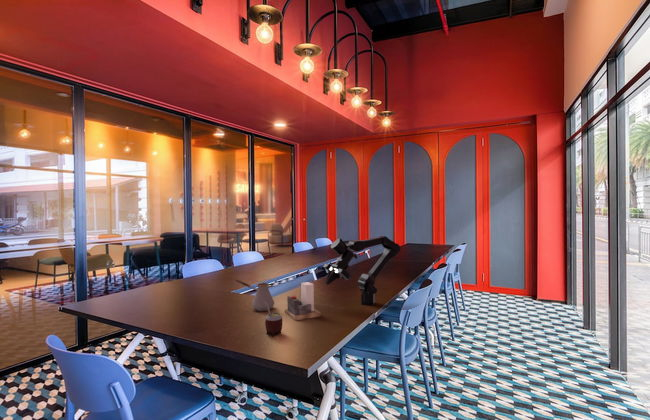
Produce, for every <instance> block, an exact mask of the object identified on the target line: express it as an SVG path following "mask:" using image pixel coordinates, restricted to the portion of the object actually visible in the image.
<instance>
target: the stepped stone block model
mask: <svg viewBox="0 0 650 420" xmlns="http://www.w3.org/2000/svg"><path fill="white" fill-rule="evenodd" d="M286 301H287V309H284V313H285V314H286V315H288V316H289V317H290V318H291V319H292V320H293V321H299V320H306V319H314V318H318V317H322V312H320V311H318V310H317V309H316V308H314V311H311V304H307V305H302V304H301V300H300V299H298V298H297V295H288V296H287V300H286Z"/></svg>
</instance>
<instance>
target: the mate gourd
mask: <svg viewBox="0 0 650 420" xmlns="http://www.w3.org/2000/svg"><path fill="white" fill-rule="evenodd" d="M263 302H264V301H263ZM264 303H265V304H266V306H267V308H268V310H267V311H268V314H267V315H266V317H265V321H264V323H265V324H264V325H265V330H266V333H265V334H266V335H271V337H275V336H276V335H282V329H283V316H282V315H281V314H280V313H279V312H272V313H271V311H270V310H271V309H270V310H269V306H268V304H267V303H266V302H264Z"/></svg>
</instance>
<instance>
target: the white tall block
mask: <svg viewBox="0 0 650 420" xmlns="http://www.w3.org/2000/svg"><path fill="white" fill-rule="evenodd" d="M300 285H301V287H300V289H301V290H300V291H301V292H300V293H301V295H300V296H301V300H300V301H301V304H302V305H307V304H311V311H314V309H315V304H314V302H315V299H314V297H315V296H314V294H315V293H314V292H315V291H314V286H315V285H314V283H312V282H308V281H306V282H301V283H300Z"/></svg>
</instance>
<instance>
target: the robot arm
mask: <svg viewBox="0 0 650 420" xmlns="http://www.w3.org/2000/svg"><path fill="white" fill-rule="evenodd" d="M379 245H381V246H382V248H383V253H382V255H381V256H380V257H379V259H378V260H377V261H376V262H375V264H374V265H373V266H372V268H371V269H370V270H369V271H368V272H367V273H362V274H361V275H360V277H359V278H358V280H357V287H358V288H359V289H360V291H361V295H360V303H361V305H365V306H366V305H367V306H374V305H375V304H376V298H375V296H376V294H377V292H378V289H377V288H376V287H375V284H376V279H377V277H378V275H380V273H381V272H382V271H383V269H384V268H385V266H386V265H387V264H388V263H389V261H390V260H391V259H393V258H395V257H396V256H397V255H398V254H400V252H401V245H400V244H399V243H396V242H395V241H393V240H392V239H390V238H389V237H387V236H386V235H385V236H384V235H380V236H377V237H372V238H367V239H363V240H361V239H350V240H349V241H348V242H344V240H343V239H342V238H337V239H336V240H335V241H333V242H332V243H331V245H330V248H331V249H332V250H333V251H334V252H335V253H336V254H337V255H338V256H339V255H340V256H339V257H337V258H336V260H337V261H336V262H335V263H332V264H330V263H324V265H323V268H324V269H325V270H326V272H327V276H326V280H325V285H327V286H329V285H330V284H332V283H333V282H334V281H335V280H337V279H343V280H346V281H349V280H350V279H352V274H351V273H350V270H349V267H350V265H349V264H350V263H351V261H352V260H353V259H356V260H358V254H357V253H359V252H361V251H363V250H365V249H367V248H370V247H373V246H379ZM355 252H356V253H355Z"/></svg>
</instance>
